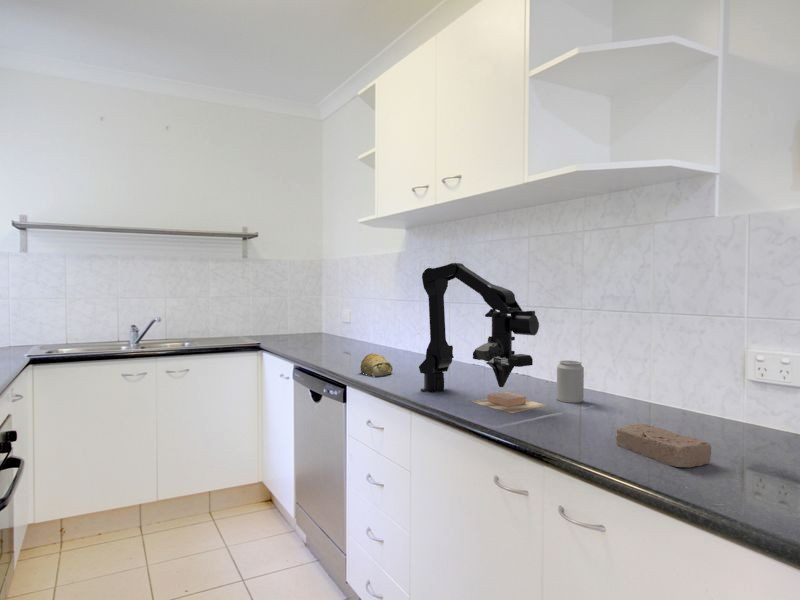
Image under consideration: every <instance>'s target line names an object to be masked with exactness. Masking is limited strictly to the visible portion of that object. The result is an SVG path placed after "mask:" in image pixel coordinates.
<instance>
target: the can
mask: <svg viewBox="0 0 800 600" xmlns="http://www.w3.org/2000/svg"><path fill="white" fill-rule="evenodd" d="M584 369H585V367H584V366H583V365H582V362H581V361H578V360H559V364H558V365H557V366H556V399H557V400H558V401H560V402H562V403H569V404H578V403H582V402H584V387H585V386H584V381H585V380H584V379H585V378H584V377H585V375H584V374H585V373H584V372H585V371H584Z"/></svg>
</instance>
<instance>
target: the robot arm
mask: <svg viewBox="0 0 800 600" xmlns="http://www.w3.org/2000/svg"><path fill="white" fill-rule="evenodd" d="M421 279H422V285H423V289H424V291H425V293H426V294H427V297H428V315H429V335H430V337H429V338H430V339H429V340H430V341H429V342H428V346H427V348H426V352H425V359H424V360H423V361H422V362H421V363H420V364H419V366H418V369H419V373H420V374H423V377H424V381H423V382H424V384H423V385H424V386H423V387H424V388H420V390H419V391H421V392H425V393H426V392H428V393H431V394H432V393H440V392H445V391H446V392H447V391H448V389H445V373H446V372H448V370H449V367H450V365H451V364H452V362H453V359H454V358H455V357H454V355H453V354H454V352H453V351H454V347H453V345H449V343H448V342H447V337H446V335H447V334H446V316H445V297H444V296H445V294H446V292H447V290H448V286H449V282H450V281H452V280H454V279H458V281H460V282H461V283H463V284H464V285H466V286H467V287H469V288H470V289H472V290H474V291H475V292H476V293H478V294H479V295H480V296H481V297H482V299H483V300H484V302H485V303H486V304H487V305H488V306H489V307H490V309H489V311H488V312H487V313H486V314H484V316H485V318H491V336H488V338H487V342H486V343H483V344H482V345H479V346H478V347H477V348H475V349H474V351H473V352H472V359H473V360H476V361H477V360H478V361H484V362H485V363H486V365H488V366H489V367H491V368H492V371H493V373H494V376H495V379H496V381H497V384H498V387H499V388H504V387H505V385H506V383H507V380H508V378H509V377H510V375H511V373H512V372H513V369H514V368H517V367H518V368H519V367H520V368H521V367H530V366H533V365H534V364H533V357H532V356H531V355H530V354H524V353H518V354H516V352H515V350H513V349H512V348H513V345H512V344H513V341H516V337H515V336H513V334H514V335H523V336H524V335H525V336H536V335H537V334H538V332H539V328H540V322H539V319H538V316H537V315H536V311H535V310H527V311H526V310H523V309H522V308H521V306H520V305H519V303H518V302H517V300H516V296H515V293H514V292H513V291H512V290H510V289H507V288H505V287H503V286H499V285H495V284H493V283H491V282H489V281H488V280H487V279H485V278H484V277H482V276H481V275H479V274H477V273H476V272H474V271H473V270H471V269H469V268H468V267H466V266H465V265H464V264H463V263H461V262H451V263H449V264H445V265H442V266H438V267H427V268H425V270H424V271H423V272H422V274H421ZM444 372H445V373H444Z"/></svg>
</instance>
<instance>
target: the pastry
mask: <svg viewBox="0 0 800 600" xmlns="http://www.w3.org/2000/svg"><path fill="white" fill-rule="evenodd" d="M392 371H393V366H392V363H391V362H390V361H388V360H387V358H385V357H384V355H380V354H377V353H372V352H371V353H369V354H367V355H366V356H365V357H364V358H363V359H362V360H361V363H360V372H361V374H362V373H364V374H367V375H366V376H368V375H372V376H378V377H382V376H386V375H387V376H388V375H391V374H392ZM364 374H363V375H364ZM372 376H371V377H372Z"/></svg>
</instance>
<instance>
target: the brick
mask: <svg viewBox="0 0 800 600" xmlns="http://www.w3.org/2000/svg"><path fill="white" fill-rule="evenodd" d="M615 431H616V435H615V445H616V446H619V447H621V448H622V449H626V450H629V451H632V452H634V453H636V454H639V455H642V456H645V457H647V458H650V459H653V460H655V461H657V462H660V463H663V464H665V465H668V466H671V467H675V468H694V467H701V466H704V465H708V464H710V462H711V456H712V445H711V443H710V442H707V441H705V440H702V439H699V438H696V437H692V436H687V435H680V434H678V433H676V432H673V431H669V430H667V429H664V428H661V427H659V426H658V427H657V426H654V425H650V424H647V423H643V422H642V423H641V422H639V423H637V422H635V423H632V424H631V423H630V424H625V425H621V426H617V427H616V430H615Z"/></svg>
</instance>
